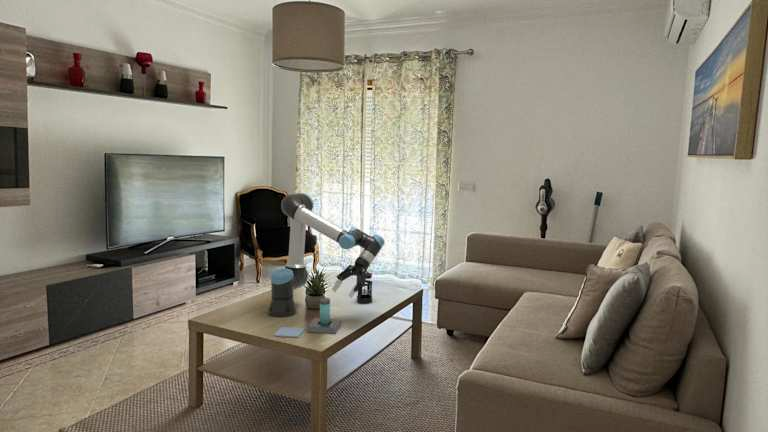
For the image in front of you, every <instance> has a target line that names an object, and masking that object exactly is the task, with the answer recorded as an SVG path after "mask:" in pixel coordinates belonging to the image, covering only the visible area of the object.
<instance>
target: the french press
mask: <svg viewBox="0 0 768 432" xmlns="http://www.w3.org/2000/svg"><path fill="white" fill-rule="evenodd" d="M372 278H373V273H372V272H368V274H367V277H366V281H365V285H364V288H363V287H360V288H359V289H358V290H357V295H356V303H358V304H361V305H362V304H363V305H368V304H372V303H373V281H372V280H370V279H372Z"/></svg>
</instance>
